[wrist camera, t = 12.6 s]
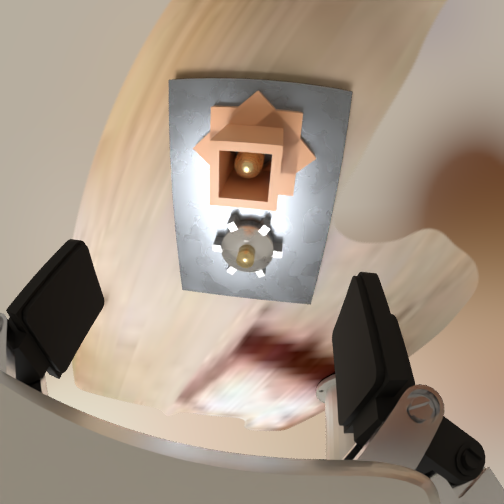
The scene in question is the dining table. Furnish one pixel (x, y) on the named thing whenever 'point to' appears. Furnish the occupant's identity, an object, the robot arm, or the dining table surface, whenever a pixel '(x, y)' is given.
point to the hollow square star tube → (255, 141)
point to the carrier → (253, 220)
